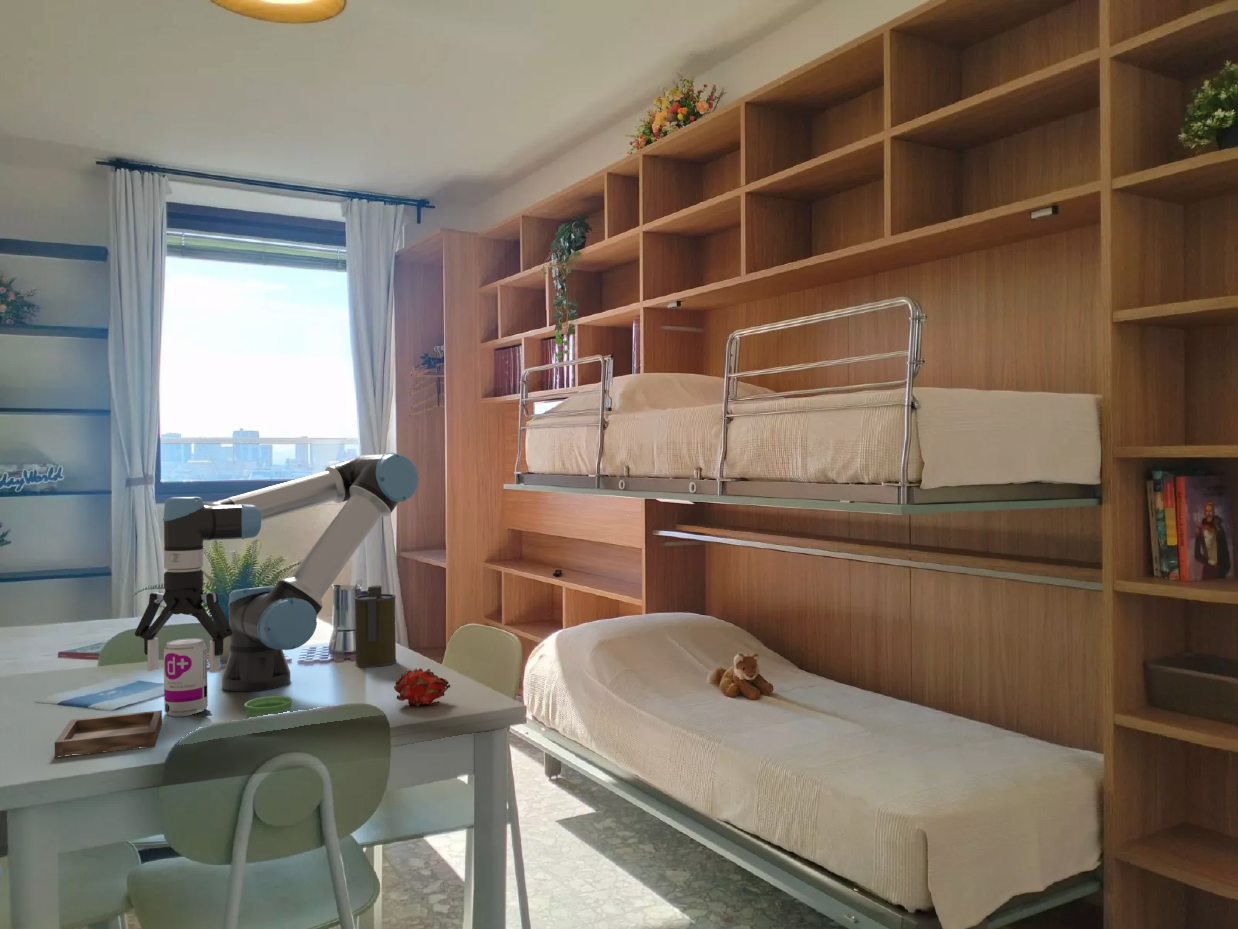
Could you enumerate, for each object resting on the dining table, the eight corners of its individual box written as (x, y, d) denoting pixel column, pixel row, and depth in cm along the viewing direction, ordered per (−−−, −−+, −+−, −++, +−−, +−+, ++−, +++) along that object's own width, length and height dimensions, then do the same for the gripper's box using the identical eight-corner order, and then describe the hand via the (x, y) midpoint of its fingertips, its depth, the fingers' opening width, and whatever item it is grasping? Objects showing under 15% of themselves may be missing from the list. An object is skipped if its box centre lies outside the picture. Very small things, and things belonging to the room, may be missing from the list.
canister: (359, 659, 244) (357, 584, 244) (399, 658, 245) (397, 583, 245) (351, 668, 233) (350, 590, 233) (393, 667, 234) (392, 588, 234)
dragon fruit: (389, 713, 197) (445, 716, 200) (394, 697, 190) (452, 701, 194) (393, 676, 202) (448, 680, 205) (397, 659, 196) (454, 664, 199)
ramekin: (256, 717, 190) (255, 696, 190) (299, 716, 190) (298, 695, 190) (236, 729, 181) (236, 707, 181) (282, 729, 181) (281, 707, 181)
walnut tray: (162, 724, 186) (161, 710, 186) (154, 746, 171) (154, 731, 171) (70, 734, 180) (70, 719, 180) (54, 758, 165) (54, 742, 165)
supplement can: (191, 718, 190) (189, 645, 190) (155, 716, 191) (154, 644, 191) (215, 707, 198) (214, 638, 198) (181, 706, 199) (180, 637, 199)
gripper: (116, 571, 192) (116, 673, 192) (231, 572, 189) (231, 675, 189) (138, 567, 199) (138, 665, 199) (249, 568, 197) (249, 667, 197)
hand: (183, 670), depth 194 cm, fingers open, 13 cm apart
